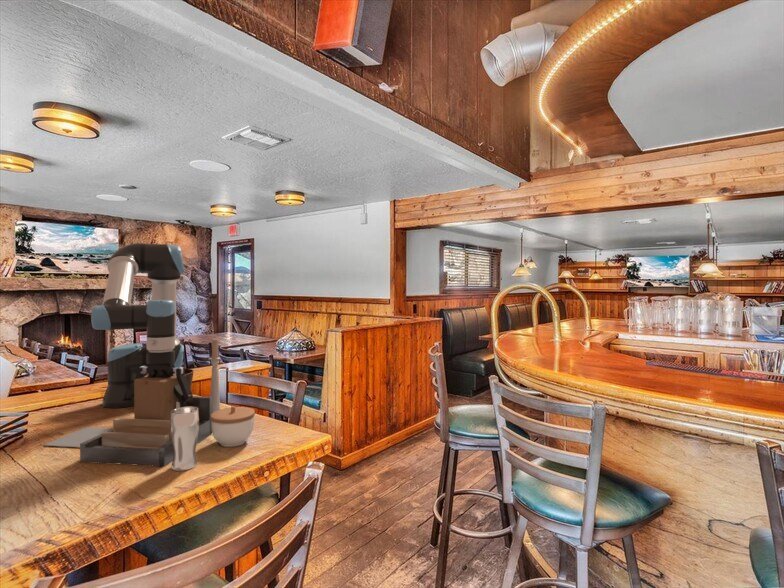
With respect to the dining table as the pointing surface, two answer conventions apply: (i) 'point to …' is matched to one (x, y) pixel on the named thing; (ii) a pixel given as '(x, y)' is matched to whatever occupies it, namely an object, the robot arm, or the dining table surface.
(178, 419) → the beer glass
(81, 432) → the mat
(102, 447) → the rack
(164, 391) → the wooden block
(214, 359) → the candlestick
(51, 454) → the dining table surface
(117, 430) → the offcut stack
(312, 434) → the dining table surface
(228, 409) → the lidded bowl
